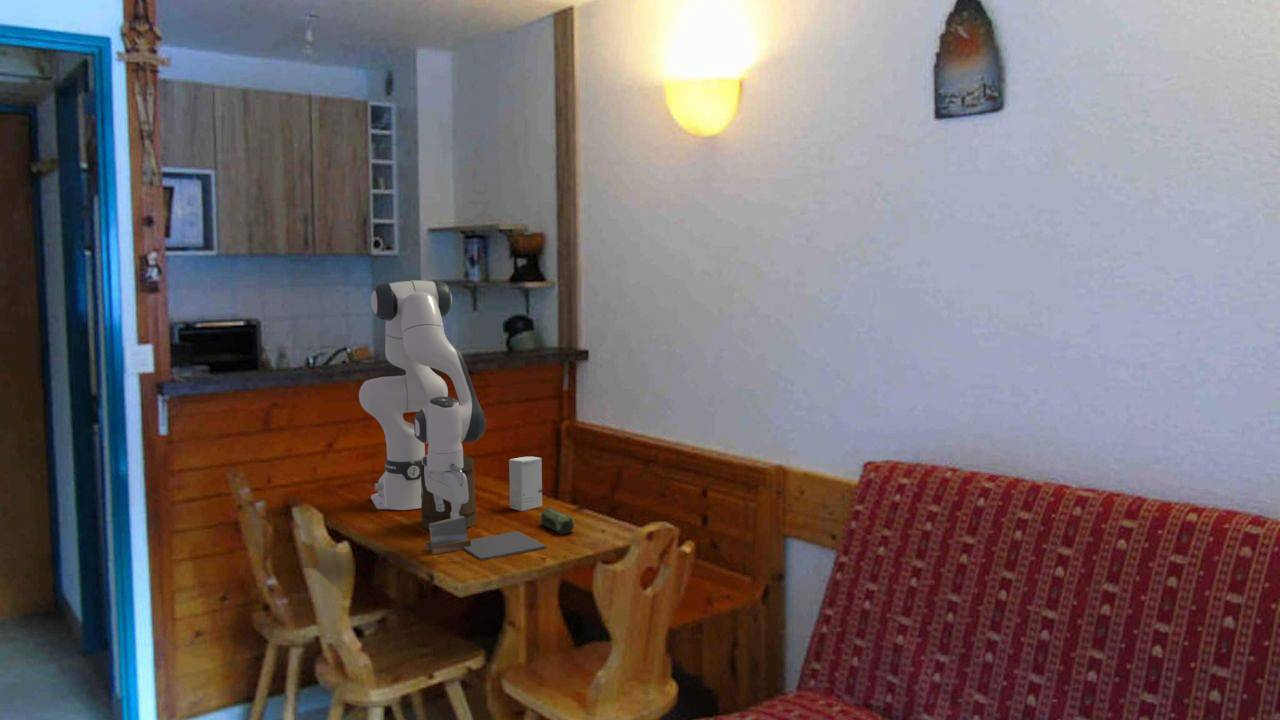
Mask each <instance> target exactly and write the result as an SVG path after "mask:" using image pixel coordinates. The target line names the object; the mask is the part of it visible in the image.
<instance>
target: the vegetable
mask: <svg viewBox="0 0 1280 720" xmlns="http://www.w3.org/2000/svg"><path fill="white" fill-rule="evenodd" d="M540 522H541V524H542V525H543V527H545V528H546V527H547V528H548V529H551V530H552V531H554V532H557V533H558V534H559V535H564V534H568V533H570V532H572V531H573V529H574V527H575V521H574V519H573V517H572V516H570V515H568V514H564V513H562V512H560V511H557V510H555V509H554V508H546V509H543V511H542V512H541V515H540Z"/></svg>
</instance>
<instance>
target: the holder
mask: <svg viewBox="0 0 1280 720" xmlns="http://www.w3.org/2000/svg"><path fill="white" fill-rule="evenodd" d="M470 540H471V539H469V538H467V539H465V540H459V541H454V542H448V543H442V544H437V545H431V540H427V541H425V547H424V548H425V550H426V551H430V552H431V554H432V555H434V554H435V555H440V554H445V552H446V553H450V552H455V551H461V550H464V549H463V547H466V546H471V541H470Z"/></svg>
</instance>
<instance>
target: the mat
mask: <svg viewBox="0 0 1280 720" xmlns="http://www.w3.org/2000/svg"><path fill="white" fill-rule="evenodd" d="M469 540H470V541H471V546H466V547H463V549H462V550H464V551H466V553H469V554H470V553H471V554H470V555H472V554H473V555H472V556H473V557H475V556H476V557H475V558H477V557H478V558H479V560H480V559H481V560H480V561H484V560H483V559H487V560H491V559H490V558H493V559H497V558H496V557H498V558H502V557H508V556H514V555H517V554H522V553H523V554H524V553H527V552H533V551H538V550H543V549H547V545H545V544H543V543H542V542H540V541H538V540H536V539H535V538H532V537H531V536H529V535H526V534H524V533H522V532H521V531H518V530H517V531H516V530H515V531H512V532H506V533H500V534H496V535H494V534H493V535H489V536H483V537H478V538H473V539H469ZM478 558H477V559H478Z"/></svg>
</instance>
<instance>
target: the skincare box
mask: <svg viewBox="0 0 1280 720" xmlns="http://www.w3.org/2000/svg"><path fill="white" fill-rule="evenodd" d="M542 459H543V458H542V457H537V456H532V455H529V456H522V457H517V458H515V457H514V458H511V459H509V460H508V472H509V479H508V480H509V509H514V510H516V511H519V512H525V511H528V510H531V509H536V508H541V507H543V474H542V473H543V471H542V470H543V469H542V465H543V462H542Z"/></svg>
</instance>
